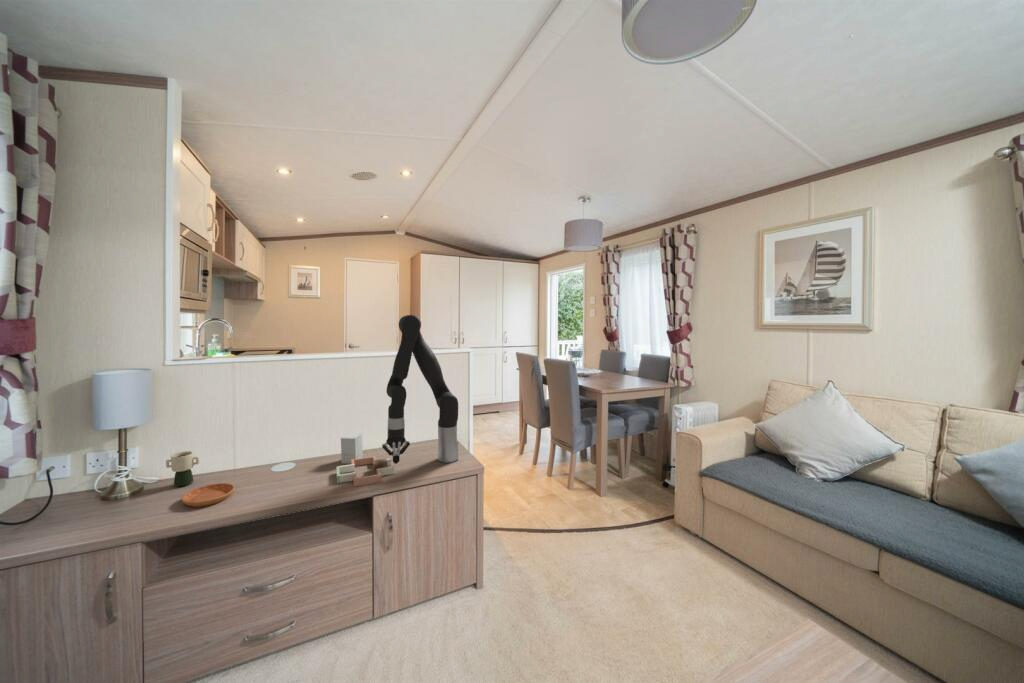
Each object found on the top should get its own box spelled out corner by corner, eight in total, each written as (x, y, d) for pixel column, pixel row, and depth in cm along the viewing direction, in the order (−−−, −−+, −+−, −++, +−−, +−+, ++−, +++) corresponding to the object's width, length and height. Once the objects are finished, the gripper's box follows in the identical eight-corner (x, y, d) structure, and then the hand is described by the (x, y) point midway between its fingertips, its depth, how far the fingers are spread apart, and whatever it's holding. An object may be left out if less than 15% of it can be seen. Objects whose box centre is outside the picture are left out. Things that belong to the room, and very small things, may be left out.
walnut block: (386, 467, 179) (386, 458, 179) (387, 472, 174) (387, 463, 173) (372, 469, 177) (372, 460, 177) (373, 474, 171) (373, 465, 171)
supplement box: (363, 458, 190) (362, 433, 189) (355, 464, 183) (355, 438, 182) (348, 457, 191) (348, 433, 190) (340, 463, 184) (340, 437, 183)
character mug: (202, 478, 165) (201, 449, 164) (197, 485, 159) (195, 455, 158) (170, 483, 161) (169, 453, 160) (163, 490, 154) (161, 458, 154)
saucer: (242, 488, 157) (241, 481, 157) (221, 507, 142) (221, 499, 142) (197, 491, 154) (197, 484, 154) (171, 511, 139) (171, 503, 138)
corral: (389, 459, 189) (388, 453, 188) (396, 479, 167) (396, 472, 167) (336, 467, 178) (336, 461, 178) (337, 489, 157) (337, 482, 156)
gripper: (409, 423, 183) (409, 458, 185) (380, 425, 178) (380, 462, 179) (412, 427, 177) (411, 463, 178) (382, 430, 171) (382, 468, 172)
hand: (395, 463), depth 178 cm, fingers closed
